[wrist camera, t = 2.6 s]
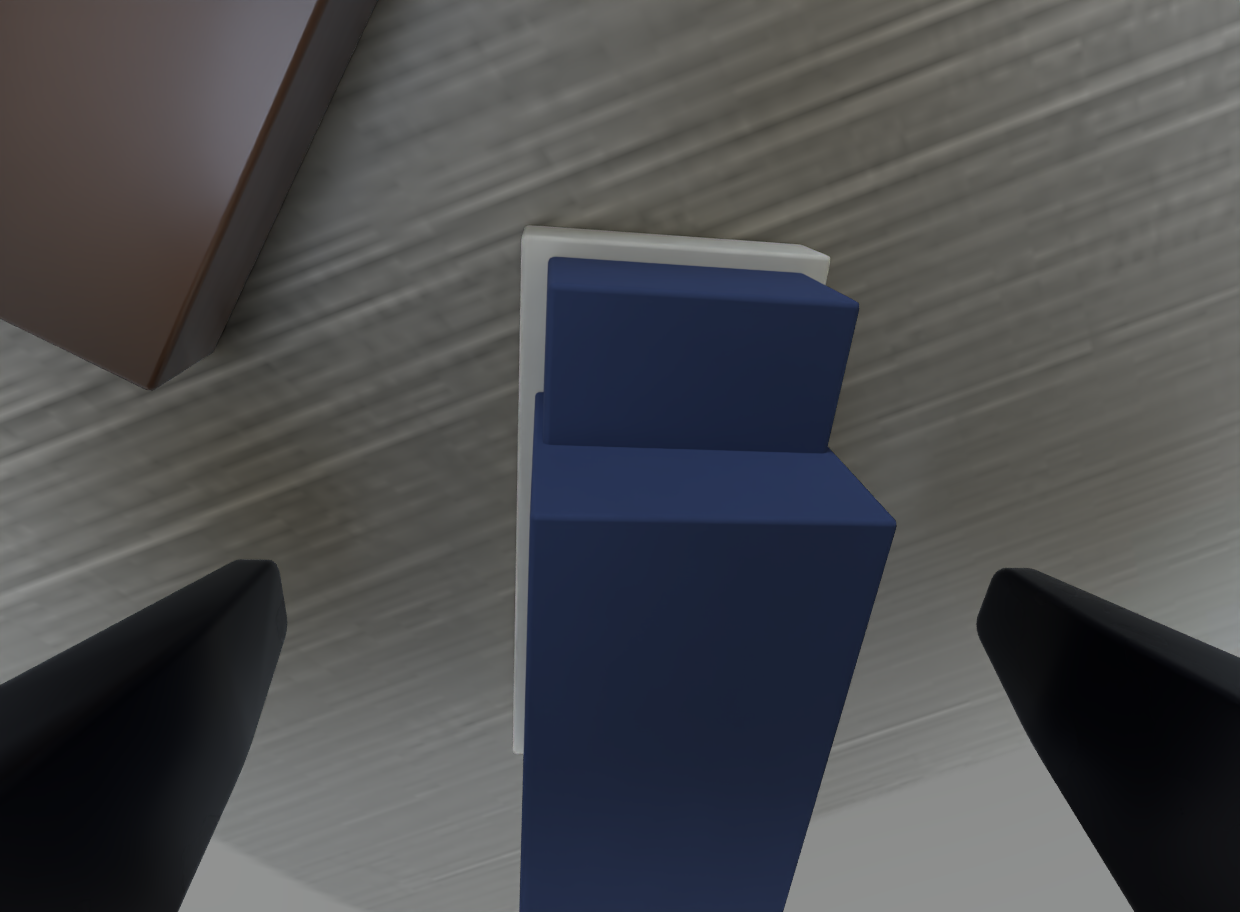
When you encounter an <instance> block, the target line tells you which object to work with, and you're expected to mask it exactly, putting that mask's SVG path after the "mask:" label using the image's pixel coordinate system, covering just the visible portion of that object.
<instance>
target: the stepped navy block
mask: <svg viewBox="0 0 1240 912" xmlns="http://www.w3.org/2000/svg"><path fill="white" fill-rule="evenodd" d="M829 266H830V257H829V256H827V255H825V254H823V253H820V252H818V251H815V250H813V249H810V248H808V247H806V246H803V245H800V244H786V243H772V242H758V241H744V240H730V239H716V238H702V237H688V236H675V235H661V234H647V233H633V232H619V231H605V230H591V229H577V228H563V227H549V226H535V225H527V226H525V228H524V230H523V234H522V238H521V284H520V344H519V404H518V464H517V525H516V585H515V645H514V705H513V752H514V754H524V756H523V795H522V833H521V871H520V909H519V912H783V910H784V907H785V903H786V900H787V897H788V893H789V890H790V886H791V883H792V880H793V876H794V873H795V869H796V866H797V863H798V859H799V856H800V853H801V849H802V846H803V842H804V839H805V836H806V832H807V828H808V825H809V822H810V819H811V815H812V812H813V808H814V805H815V802H816V798H817V795H818V791H819V788H820V785H821V781H822V778H823V774H824V771H825V768H826V764H827V761H828V757H829V754H830V751H831V747H832V744H833V741H834V737H835V734H836V730H837V727H838V724H839V720H840V717H841V713H842V710H843V707H844V703H845V700H846V696H847V693H848V690H849V686H850V683H851V679H852V676H853V673H854V669H855V666H856V662H857V659H858V656H859V652H860V649H861V645H862V642H863V639H864V635H865V632H866V629H867V625H868V622H869V618H870V615H871V612H872V608H873V605H874V601H875V598H876V595H877V591H878V588H879V584H880V581H881V578H882V574H883V571H884V567H885V564H886V561H887V557H888V554H889V550H890V547H891V544H892V540H893V537H894V534H895V530H896V527H897V526H896V520H895V519H894V518H893V517H892V516H891V515H890V514H889V513H888V512H887V511H886V510H885V508H884V507H883V506H882V505H881V504H880V503H879V502H878V501H877V500H876V499H875V498H874V496H873V495H872V494H871V493H870V492H869V491H868V490H867V489H866V488H865V487H864V486H863V484H862V483H861V482H860V481H859V480H858V479H857V478H856V477H855V476H854V475H853V474H852V472H851V471H850V470H849V469H848V468H847V467H846V466H845V465H844V464H843V463H842V462H841V460H840V459H839V458H838V457H837V456H836V455H835V454H834V453H833V452H832V451H831V450H830V448H829V447H828V442H829V438H830V433H831V429H832V425H833V420H834V416H835V412H836V407H837V403H838V399H839V394H840V390H841V386H842V381H843V377H844V373H845V368H846V364H847V360H848V355H849V351H850V347H851V342H852V338H853V334H854V329H855V325H856V321H857V316H858V312H859V303H858V302H856V301H854V300H853V299H851V298H849V297H847V296H845V295H843V294H841V293H839V292H837V291H835V290H833V289H832V288H830V287H828V286H826V280H827V275H828V271H829Z"/></svg>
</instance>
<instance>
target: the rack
mask: <svg viewBox="0 0 1240 912" xmlns="http://www.w3.org/2000/svg"><path fill="white" fill-rule="evenodd" d="M376 2H377V0H0V319H2V320H4V321H6V322H8V323H10V324H12V325H14V326H16V327H19V328H21V329H23V330H25V331H27V332H29V333H31V334H33V335H35V336H37V337H39V338H41V339H43V340H45V341H47V342H49V343H51V344H53V345H55V346H57V347H59V348H62V349H64V350H66V351H68V352H70V353H72V354H74V355H76V356H78V357H80V358H82V359H84V360H86V361H88V362H90V363H92V364H94V365H96V366H98V367H100V368H103V369H105V370H107V371H109V372H111V373H113V374H115V375H117V376H119V377H121V378H123V379H125V380H127V381H129V382H131V383H133V384H135V385H137V386H139V387H141V388H144V389H146V390H155V389H156V388H158V387H159V386H161V385H162V384H164V383H166V382H167V381H169V380H170V379H172V378H173V377H175V376H177V375H178V374H180V373H181V372H183V371H184V370H186V369H188V368H189V367H191V366H192V365H194V364H195V363H197V362H199V361H200V360H202V359H203V358H205V357H206V356H208V355H210V354H211V353H212V352H213V351H214V349H215V347H216V345H217V342H218V340H219V338H220V336H221V334H222V332H223V330H224V327H225V325H226V323H227V321H228V319H229V317H230V315H231V312H232V310H233V308H234V306H235V304H236V302H237V300H238V298H239V295H240V293H241V291H242V289H243V287H244V285H245V283H246V280H247V278H248V276H249V274H250V272H251V270H252V268H253V265H254V263H255V261H256V259H257V257H258V255H259V253H260V250H261V248H262V246H263V244H264V242H265V240H266V238H267V236H268V233H269V231H270V229H271V227H272V225H273V223H274V221H275V218H276V216H277V214H278V212H279V210H280V208H281V206H282V203H283V201H284V199H285V197H286V195H287V193H288V191H289V188H290V186H291V184H292V182H293V180H294V178H295V176H296V173H297V171H298V169H299V167H300V165H301V163H302V161H303V159H304V156H305V154H306V152H307V150H308V148H309V146H310V144H311V141H312V139H313V137H314V135H315V133H316V131H317V129H318V126H319V124H320V122H321V120H322V118H323V116H324V114H325V111H326V109H327V107H328V105H329V103H330V101H331V99H332V96H333V94H334V92H335V90H336V88H337V86H338V84H339V82H340V79H341V77H342V75H343V73H344V71H345V69H346V67H347V64H348V62H349V60H350V58H351V56H352V54H353V52H354V49H355V47H356V45H357V43H358V41H359V39H360V37H361V34H362V32H363V30H364V28H365V26H366V24H367V22H368V20H369V17H370V15H371V13H372V11H373V9H374V7H375V5H376Z"/></svg>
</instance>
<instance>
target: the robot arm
mask: <svg viewBox="0 0 1240 912" xmlns="http://www.w3.org/2000/svg"><path fill="white" fill-rule="evenodd" d="M976 625H977V632H978V636H979V638H980V641H981V643H982V645H983V647H984V649H985V651H986V653H987V655H988V657H989V659H990V661H991V663H992V665H993V667H994V669H995V671H996V673H997V675H998V677H999V679H1000V681H1001V683H1002V685H1003V687H1004V689H1005V691H1006V693H1007V695H1008V697H1009V699H1010V701H1011V703H1012V705H1013V707H1014V710H1015V712H1016V714H1017V716H1018V718H1019V720H1020V722H1021V724H1022V726H1023V728H1024V729H1025V731H1026V733H1027V735H1028V737H1029V739H1030V741H1031V743H1032V744H1033V746H1034V748H1035V750H1036V751H1037V753H1038V755H1039V756H1040V758H1041V760H1042V762H1043V763H1044V765H1045V766H1046V768H1047V770H1048V771H1049V773H1050V774H1051V776H1052V778H1053V780H1054V781H1055V783H1056V784H1057V786H1058V788H1059V789H1060V791H1061V793H1062V794H1063V796H1064V798H1065V799H1066V801H1067V802H1068V804H1069V806H1070V807H1071V809H1072V811H1073V812H1074V814H1075V816H1076V817H1077V819H1078V820H1079V822H1080V824H1081V825H1082V827H1083V829H1084V830H1085V832H1086V833H1087V835H1088V837H1089V838H1090V840H1091V842H1092V843H1093V845H1094V847H1095V848H1096V850H1097V852H1098V853H1099V855H1100V856H1101V858H1102V860H1103V861H1104V863H1105V865H1106V866H1107V868H1108V870H1109V871H1110V873H1111V874H1112V876H1113V878H1114V879H1115V881H1116V883H1117V884H1118V886H1119V887H1120V889H1121V891H1122V892H1123V894H1124V896H1125V897H1126V899H1127V900H1128V902H1129V904H1130V905H1131V907H1132V909H1133V910H1134V912H1240V658H1239V657H1237V656H1234V655H1232V654H1230V653H1227V652H1225V651H1223V650H1220V649H1218V648H1216V647H1213V646H1211V645H1209V644H1206V643H1204V642H1202V641H1199V640H1197V639H1195V638H1192V637H1190V636H1188V635H1186V634H1183V633H1181V632H1179V631H1176V630H1174V629H1172V628H1169V627H1167V626H1165V625H1162V624H1160V623H1158V622H1155V621H1153V620H1151V619H1148V618H1146V617H1144V616H1141V615H1139V614H1137V613H1134V612H1132V611H1130V610H1127V609H1125V608H1123V607H1121V606H1118V605H1116V604H1114V603H1111V602H1109V601H1107V600H1104V599H1102V598H1100V597H1097V596H1095V595H1093V594H1090V593H1088V592H1086V591H1083V590H1081V589H1079V588H1076V587H1074V586H1072V585H1069V584H1067V583H1065V582H1062V581H1060V580H1058V579H1056V578H1053V577H1051V576H1049V575H1046V574H1044V573H1042V572H1039V571H1037V570H1034V569H1030V568H1003V569H1000V570H998V571H997V572H996V573H995V574H994V575H993V577H992V579H991V582H990V585H989V587H988V590H987V593H986V595H985V598H984V600H983V603H982V606H981V608H980V611H979V614H978V617H977V623H976ZM286 631H287V615H286V608H285V602H284V596H283V589H282V583H281V577H280V572H279V569H278V567H277V564H276V563H274V562H273V561H272V560H245V559H240V560H235V561H233V562H231V563H229V564H227V565H225V566H223V567H221V568H219V569H218V570H216V571H214V572H212V573H210V574H208V575H206V576H204V577H203V578H201V579H199V580H197V581H195V582H193V583H191V584H189V585H188V586H186V587H184V588H182V589H180V590H178V591H176V592H174V593H172V594H171V595H169V596H167V597H165V598H163V599H161V600H159V601H157V602H156V603H154V604H152V605H150V606H148V607H146V608H144V609H142V610H141V611H139V612H137V613H135V614H133V615H131V616H129V617H127V618H126V619H124V620H122V621H120V622H118V623H116V624H114V625H112V626H110V627H109V628H107V629H105V630H103V631H101V632H99V633H97V634H95V635H94V636H92V637H90V638H88V639H86V640H84V641H82V642H80V643H79V644H77V645H75V646H73V647H71V648H69V649H67V650H65V651H63V652H62V653H60V654H58V655H56V656H54V657H52V658H50V659H48V660H47V661H45V662H43V663H41V664H39V665H37V666H35V667H33V668H32V669H30V670H28V671H26V672H24V673H22V674H20V675H18V676H16V677H15V678H13V679H11V680H9V681H7V682H5V683H3V684H1V685H0V912H178V910H179V908H180V906H181V904H182V902H183V899H184V897H185V895H186V893H187V890H188V888H189V886H190V884H191V881H192V879H193V877H194V875H195V873H196V870H197V868H198V866H199V864H200V862H201V859H202V857H203V855H204V853H205V850H206V848H207V846H208V844H209V842H210V839H211V837H212V835H213V833H214V830H215V828H216V826H217V824H218V822H219V819H220V817H221V815H222V813H223V810H224V808H225V806H226V804H227V802H228V799H229V797H230V795H231V793H232V790H233V788H234V786H235V784H236V782H237V779H238V777H239V774H240V772H241V770H242V767H243V765H244V762H245V760H246V757H247V754H248V752H249V749H250V746H251V743H252V740H253V737H254V734H255V731H256V728H257V724H258V721H259V718H260V715H261V712H262V709H263V706H264V703H265V699H266V696H267V693H268V690H269V687H270V684H271V681H272V678H273V674H274V671H275V668H276V665H277V662H278V659H279V656H280V652H281V649H282V646H283V643H284V640H285V636H286Z"/></svg>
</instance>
